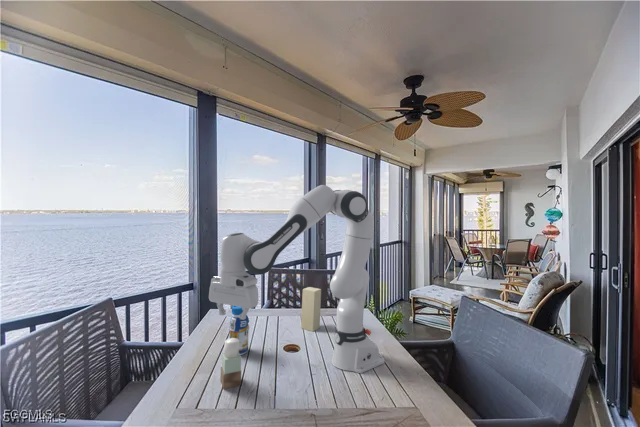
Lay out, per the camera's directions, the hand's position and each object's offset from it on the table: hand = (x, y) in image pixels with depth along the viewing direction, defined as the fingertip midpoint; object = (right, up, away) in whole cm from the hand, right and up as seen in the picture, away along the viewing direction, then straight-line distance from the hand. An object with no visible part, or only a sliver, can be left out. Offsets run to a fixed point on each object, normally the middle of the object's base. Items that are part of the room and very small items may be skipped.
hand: (232, 317), depth 108 cm
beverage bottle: (-4, -24, +24) cm, 34 cm away
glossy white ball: (0, -14, 0) cm, 14 cm away
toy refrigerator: (+27, -25, +54) cm, 65 cm away
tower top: (0, -19, 0) cm, 19 cm away
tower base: (-1, -24, 0) cm, 24 cm away
